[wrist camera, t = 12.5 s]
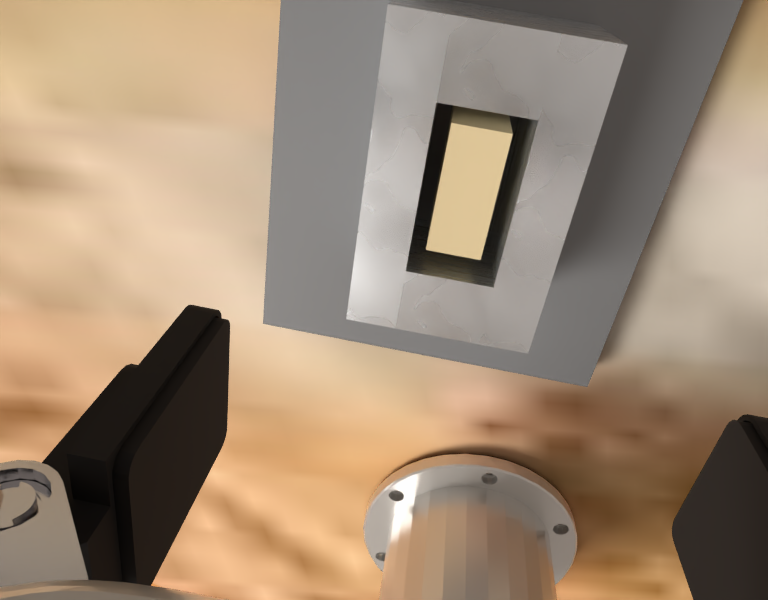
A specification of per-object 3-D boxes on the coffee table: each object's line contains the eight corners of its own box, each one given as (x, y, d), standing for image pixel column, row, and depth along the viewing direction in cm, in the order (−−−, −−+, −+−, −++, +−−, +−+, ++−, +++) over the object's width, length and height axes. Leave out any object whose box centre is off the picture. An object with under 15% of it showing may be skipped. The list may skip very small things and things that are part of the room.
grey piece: (582, 368, 31) (604, 453, 26) (271, 308, 32) (232, 379, 26) (766, -102, 21) (862, -116, 16) (302, -178, 21) (247, -217, 16)
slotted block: (519, 289, 28) (528, 353, 23) (366, 261, 28) (346, 319, 24) (597, 25, 22) (627, 45, 18) (404, -8, 22) (387, 3, 18)
